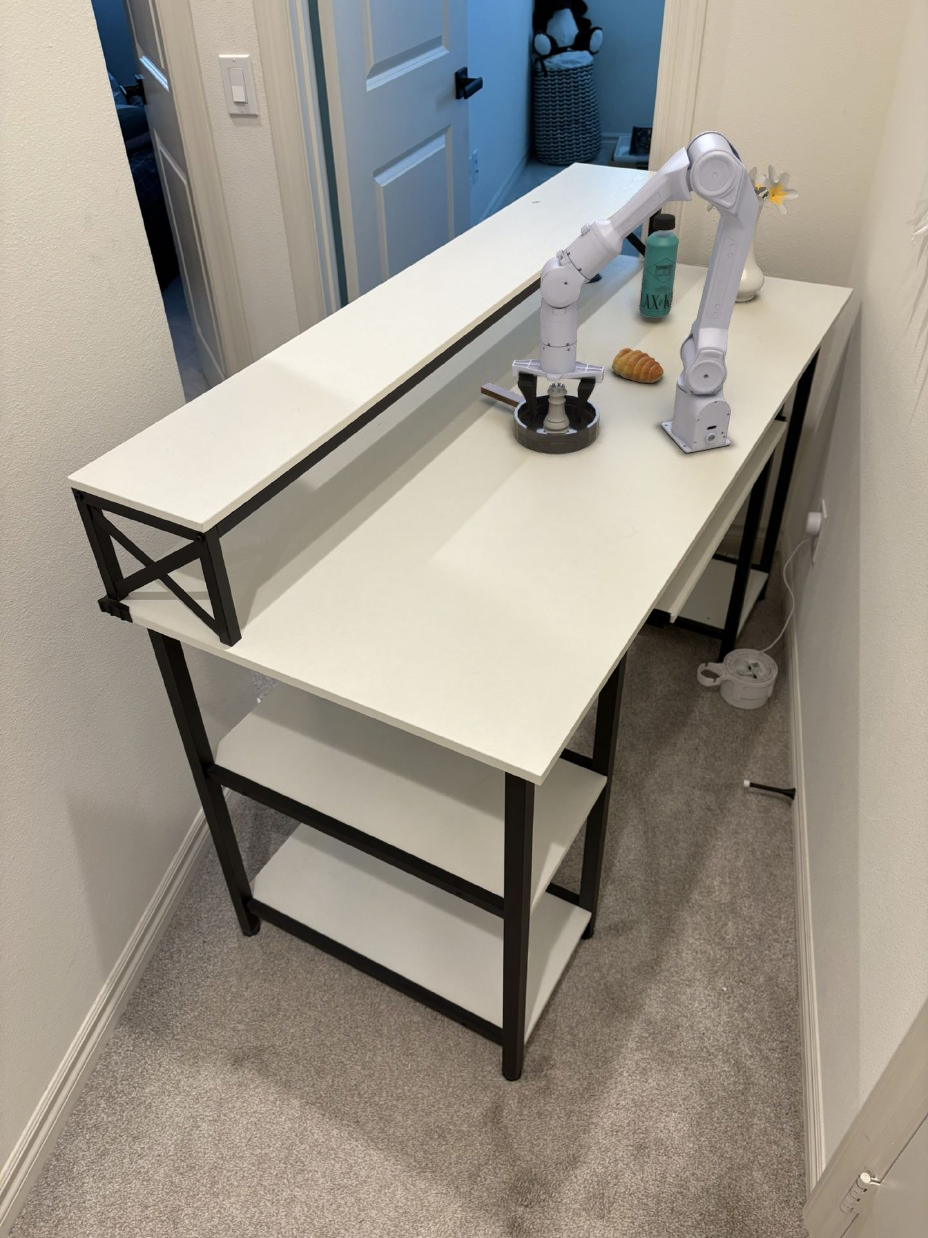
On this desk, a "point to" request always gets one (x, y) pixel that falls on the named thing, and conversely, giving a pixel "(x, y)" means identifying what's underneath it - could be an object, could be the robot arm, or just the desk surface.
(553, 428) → the rook chess piece
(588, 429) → the pan
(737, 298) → the flower vase
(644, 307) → the beverage bottle
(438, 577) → the desk surface
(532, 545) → the desk surface
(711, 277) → the robot arm
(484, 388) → the pan handle
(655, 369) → the pastry
